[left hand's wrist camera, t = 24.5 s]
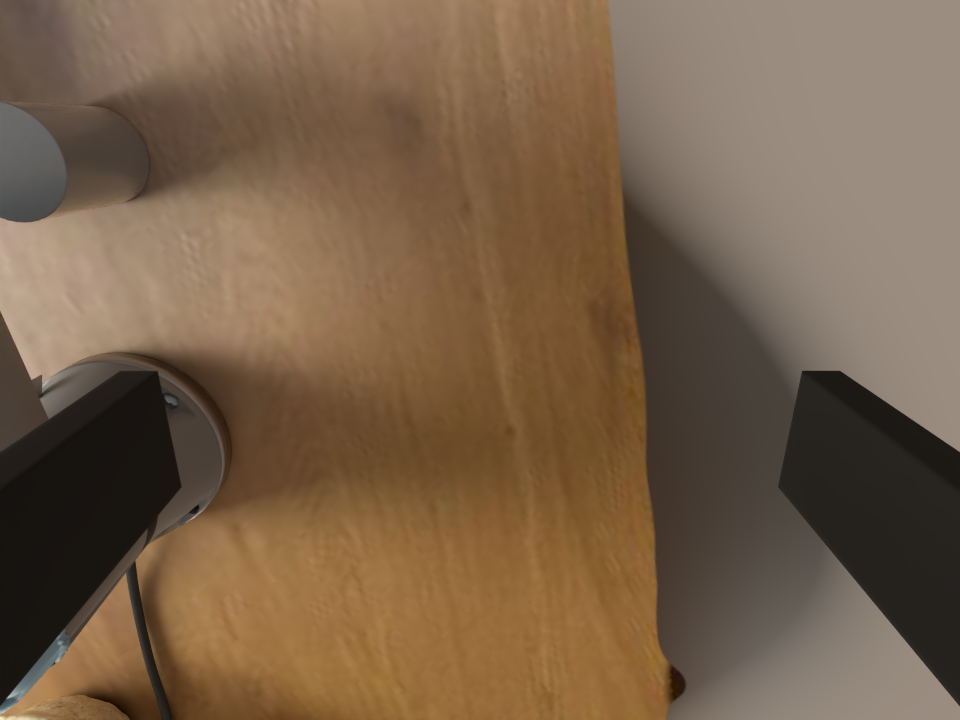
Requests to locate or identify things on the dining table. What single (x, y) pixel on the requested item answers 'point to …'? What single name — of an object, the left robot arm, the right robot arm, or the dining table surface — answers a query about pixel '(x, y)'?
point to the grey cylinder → (66, 160)
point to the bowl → (70, 710)
